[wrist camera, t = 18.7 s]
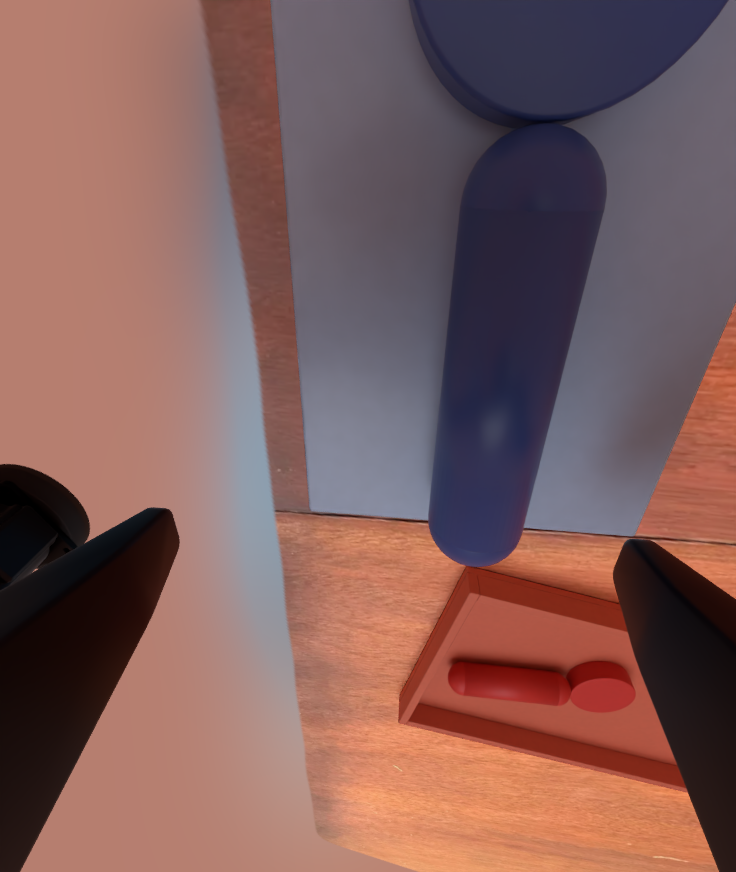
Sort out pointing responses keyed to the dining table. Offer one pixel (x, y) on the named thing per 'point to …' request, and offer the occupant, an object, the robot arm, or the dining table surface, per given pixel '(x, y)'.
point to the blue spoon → (526, 230)
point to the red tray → (542, 650)
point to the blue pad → (435, 253)
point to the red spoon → (547, 685)
